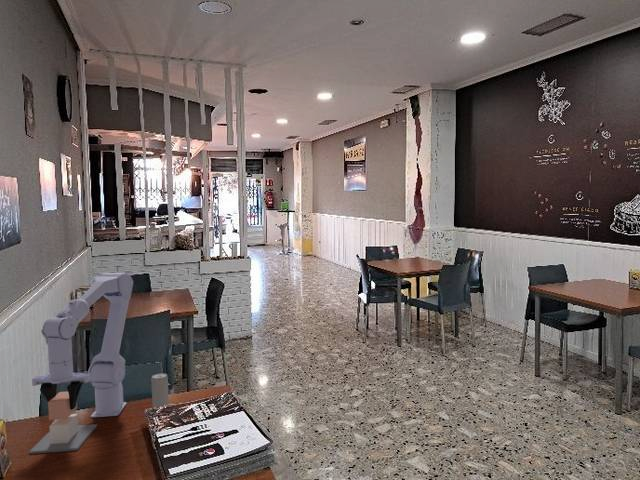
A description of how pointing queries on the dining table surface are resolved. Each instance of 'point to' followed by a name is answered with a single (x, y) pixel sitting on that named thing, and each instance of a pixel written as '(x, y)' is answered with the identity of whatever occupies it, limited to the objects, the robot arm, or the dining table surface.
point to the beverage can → (159, 390)
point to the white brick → (64, 429)
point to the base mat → (72, 445)
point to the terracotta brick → (60, 406)
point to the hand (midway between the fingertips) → (63, 408)
